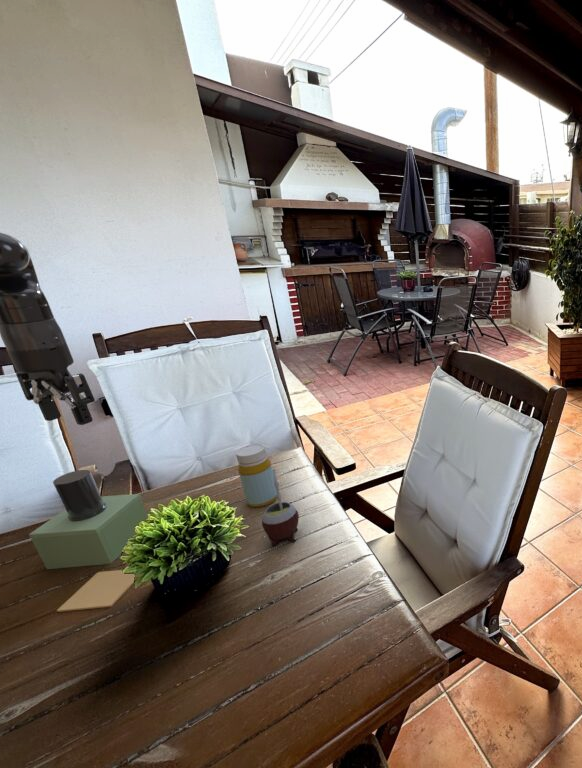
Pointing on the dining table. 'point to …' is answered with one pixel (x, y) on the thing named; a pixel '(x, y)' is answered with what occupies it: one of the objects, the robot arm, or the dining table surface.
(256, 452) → the bottle
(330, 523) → the dining table surface
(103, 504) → the holder
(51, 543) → the block
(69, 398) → the robot arm
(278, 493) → the mate gourd
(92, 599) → the coaster
